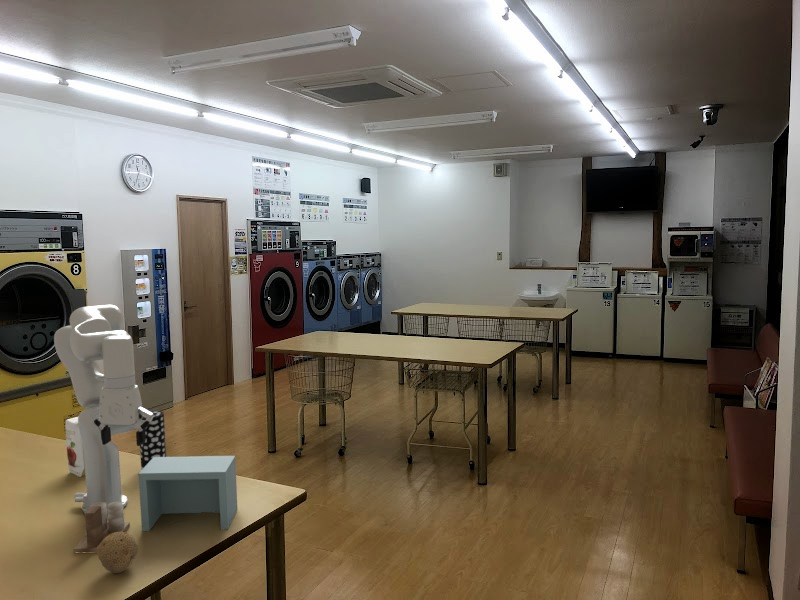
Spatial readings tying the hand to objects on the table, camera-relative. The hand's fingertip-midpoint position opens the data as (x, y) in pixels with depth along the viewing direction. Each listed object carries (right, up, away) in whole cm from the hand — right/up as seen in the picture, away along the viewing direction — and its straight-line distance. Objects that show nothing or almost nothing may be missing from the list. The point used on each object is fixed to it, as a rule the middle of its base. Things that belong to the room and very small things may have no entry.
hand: (123, 443), depth 169 cm
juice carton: (-36, -21, +49) cm, 64 cm away
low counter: (+14, -26, +14) cm, 32 cm away
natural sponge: (+4, -29, -12) cm, 32 cm away
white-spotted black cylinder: (-12, -21, +51) cm, 56 cm away
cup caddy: (-7, -27, +3) cm, 28 cm away
